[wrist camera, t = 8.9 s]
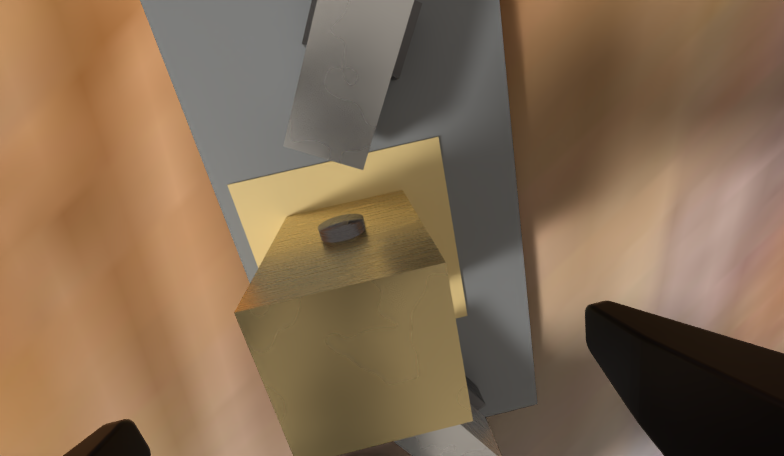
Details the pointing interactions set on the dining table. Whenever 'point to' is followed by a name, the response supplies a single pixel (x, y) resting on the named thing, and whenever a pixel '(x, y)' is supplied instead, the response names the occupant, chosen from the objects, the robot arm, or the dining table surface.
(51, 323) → the dining table surface
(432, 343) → the block
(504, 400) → the board
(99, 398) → the dining table surface
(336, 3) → the wood-capped gray bar
